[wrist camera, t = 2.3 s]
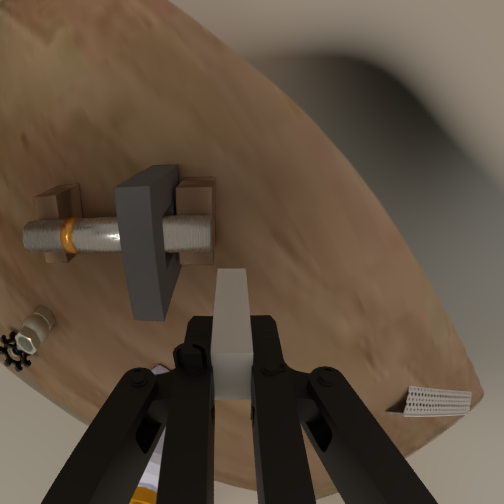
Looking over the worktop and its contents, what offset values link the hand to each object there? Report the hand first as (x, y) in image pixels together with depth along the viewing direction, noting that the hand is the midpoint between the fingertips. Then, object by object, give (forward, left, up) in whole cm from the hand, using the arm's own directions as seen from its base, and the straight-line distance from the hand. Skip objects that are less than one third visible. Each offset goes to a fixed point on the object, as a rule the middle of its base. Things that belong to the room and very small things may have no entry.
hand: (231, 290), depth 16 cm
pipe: (0, -11, -10) cm, 15 cm away
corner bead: (+41, +44, -16) cm, 63 cm away
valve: (+17, -30, -15) cm, 38 cm away
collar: (0, -6, -13) cm, 15 cm away
